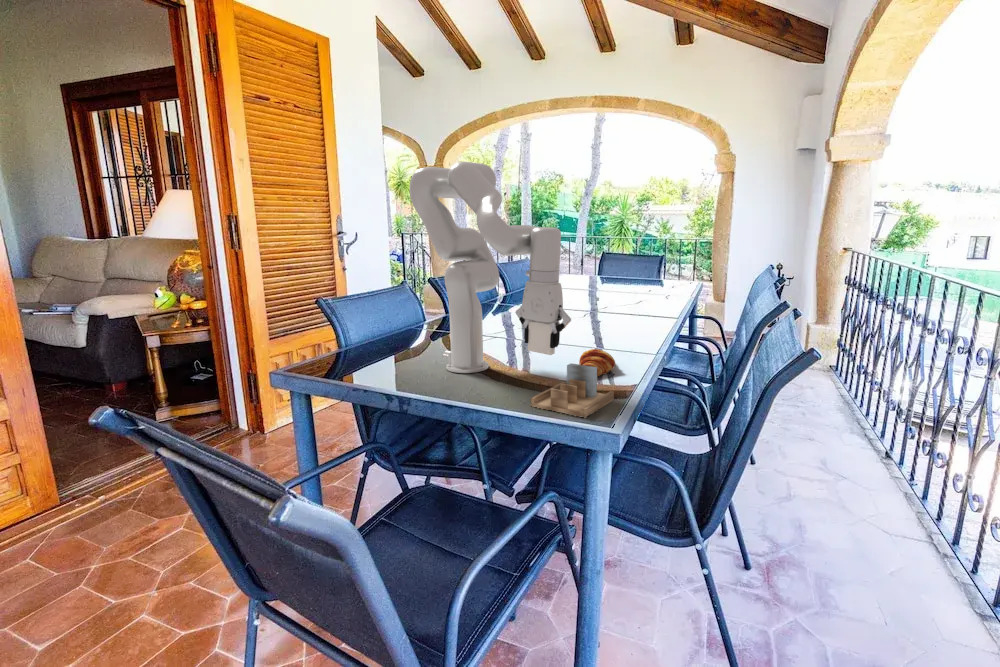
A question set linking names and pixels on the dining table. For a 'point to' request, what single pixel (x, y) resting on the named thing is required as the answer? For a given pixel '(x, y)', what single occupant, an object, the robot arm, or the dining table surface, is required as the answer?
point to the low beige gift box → (540, 338)
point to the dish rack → (574, 393)
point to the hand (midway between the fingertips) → (541, 344)
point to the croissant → (598, 360)
